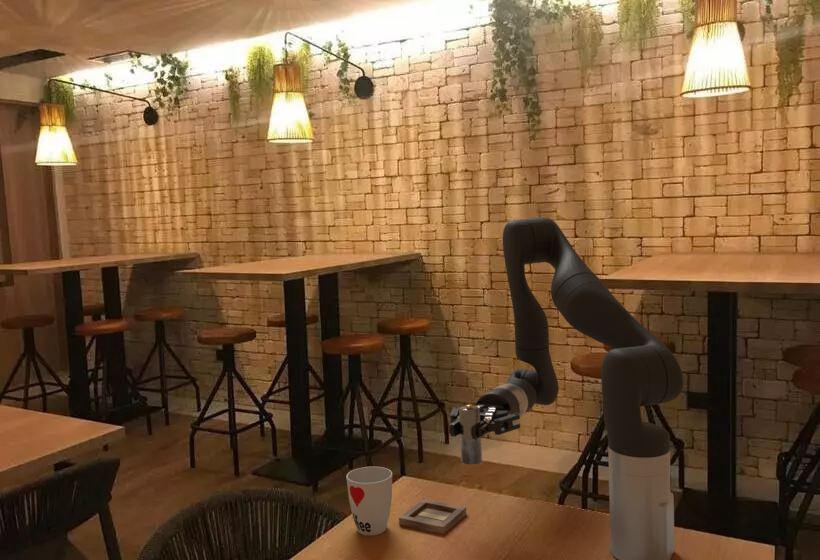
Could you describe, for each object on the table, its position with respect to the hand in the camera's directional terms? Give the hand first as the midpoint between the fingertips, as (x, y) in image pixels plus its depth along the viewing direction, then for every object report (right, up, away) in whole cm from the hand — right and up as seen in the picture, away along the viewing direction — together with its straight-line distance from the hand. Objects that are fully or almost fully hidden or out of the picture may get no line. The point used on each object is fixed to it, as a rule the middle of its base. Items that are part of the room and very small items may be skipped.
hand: (463, 432), depth 119 cm
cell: (+2, -6, +3) cm, 7 cm away
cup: (-16, -18, +4) cm, 25 cm away
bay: (-5, -17, +7) cm, 19 cm away
